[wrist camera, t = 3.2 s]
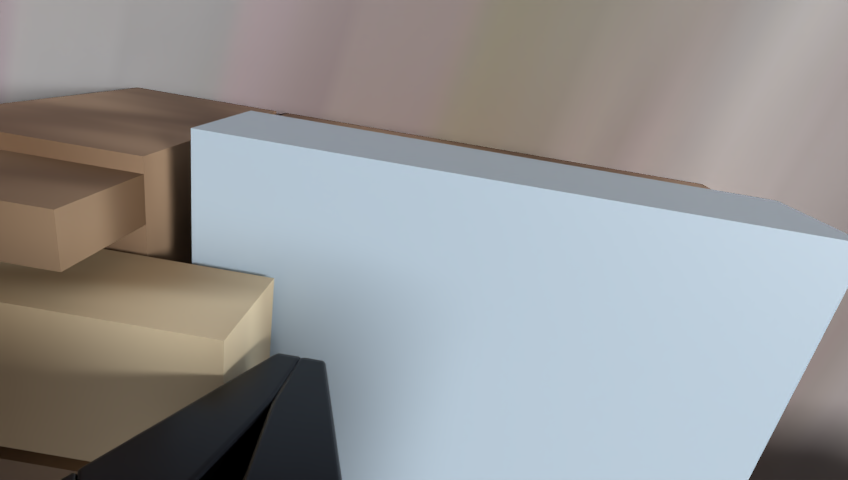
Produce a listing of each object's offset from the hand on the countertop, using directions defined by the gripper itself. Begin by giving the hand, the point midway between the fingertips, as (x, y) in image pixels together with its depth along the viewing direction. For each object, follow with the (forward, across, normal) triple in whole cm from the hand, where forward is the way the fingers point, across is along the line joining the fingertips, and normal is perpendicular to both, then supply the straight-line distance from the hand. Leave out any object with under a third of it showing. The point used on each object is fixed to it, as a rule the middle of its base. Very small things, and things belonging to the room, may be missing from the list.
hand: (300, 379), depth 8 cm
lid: (+4, -3, 0) cm, 5 cm away
